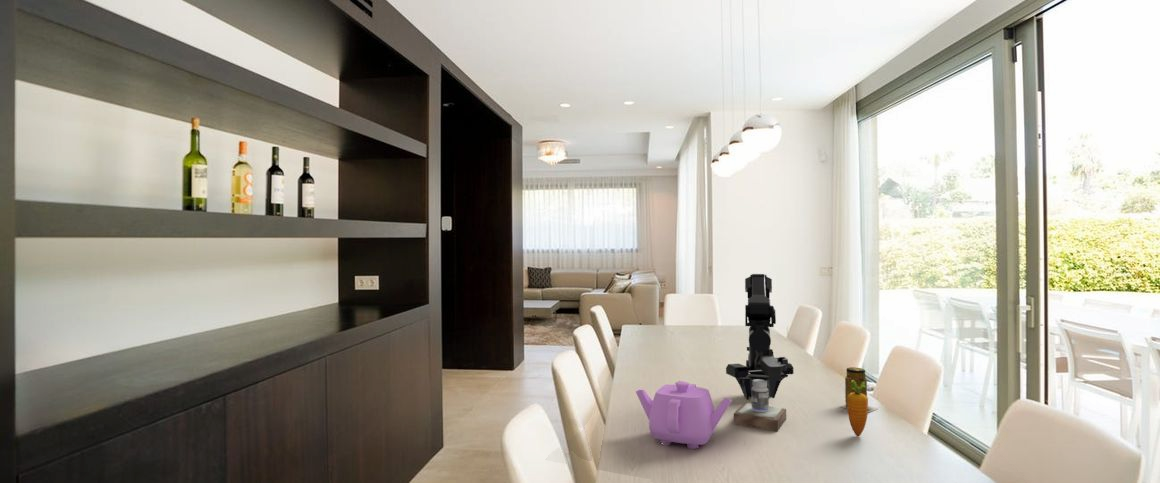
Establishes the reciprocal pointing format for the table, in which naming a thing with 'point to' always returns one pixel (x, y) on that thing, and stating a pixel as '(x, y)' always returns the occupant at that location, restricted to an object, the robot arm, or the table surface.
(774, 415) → the pedestal
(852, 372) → the condiment
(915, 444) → the table surface
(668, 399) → the teapot
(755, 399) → the pill bottle
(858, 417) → the carrot
